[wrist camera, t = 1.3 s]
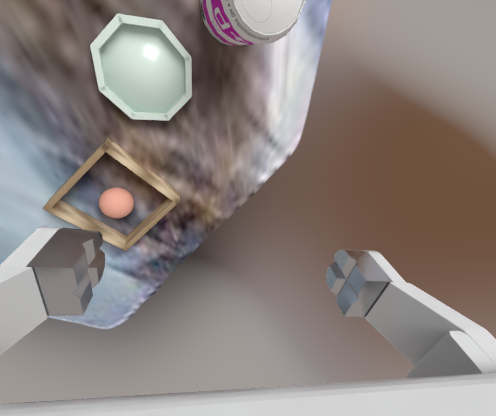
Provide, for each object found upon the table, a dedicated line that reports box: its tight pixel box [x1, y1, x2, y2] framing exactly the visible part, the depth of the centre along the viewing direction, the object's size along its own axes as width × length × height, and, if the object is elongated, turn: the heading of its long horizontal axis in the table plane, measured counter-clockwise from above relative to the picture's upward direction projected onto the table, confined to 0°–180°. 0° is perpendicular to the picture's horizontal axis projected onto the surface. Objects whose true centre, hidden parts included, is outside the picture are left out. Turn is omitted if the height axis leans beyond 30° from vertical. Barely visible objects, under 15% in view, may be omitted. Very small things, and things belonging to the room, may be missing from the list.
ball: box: [99, 188, 134, 218], centre depth 40 cm, size 5×5×5 cm
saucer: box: [91, 14, 192, 121], centre depth 33 cm, size 12×12×2 cm
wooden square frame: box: [43, 138, 180, 251], centre depth 40 cm, size 14×14×3 cm
